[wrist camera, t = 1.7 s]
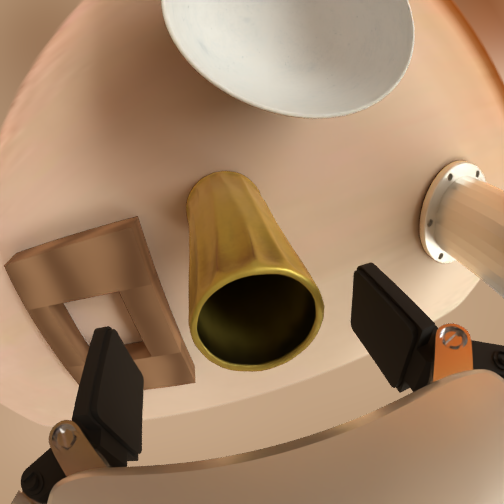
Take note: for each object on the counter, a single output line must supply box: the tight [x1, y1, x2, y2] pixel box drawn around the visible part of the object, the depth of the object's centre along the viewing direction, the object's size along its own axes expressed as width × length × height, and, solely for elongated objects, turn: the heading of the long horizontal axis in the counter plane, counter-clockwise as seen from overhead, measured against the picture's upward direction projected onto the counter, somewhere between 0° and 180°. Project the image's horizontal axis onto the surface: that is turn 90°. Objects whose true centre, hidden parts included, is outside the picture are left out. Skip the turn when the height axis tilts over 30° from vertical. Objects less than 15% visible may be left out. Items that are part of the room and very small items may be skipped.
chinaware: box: [161, 0, 415, 119], centre depth 14 cm, size 15×15×8 cm
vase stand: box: [4, 216, 195, 390], centre depth 25 cm, size 14×18×2 cm
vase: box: [186, 171, 324, 371], centre depth 17 cm, size 6×6×14 cm
